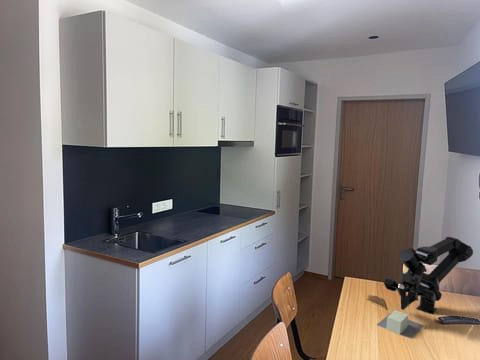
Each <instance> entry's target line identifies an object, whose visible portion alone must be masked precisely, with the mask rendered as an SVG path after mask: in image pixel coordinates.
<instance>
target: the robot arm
mask: <svg viewBox="0 0 480 360" xmlns="http://www.w3.org/2000/svg"><path fill="white" fill-rule="evenodd" d="M446 253H448V254H447V255H446V256H445V257H444V258H443V259H442V260H441V261H440V263H438V264H437V266H436V267H434V268H433V269H432V270H431V271H430V273H427V272H428V269H427V268H426V265H428V266H432V265H433V264H435V263H436V262H437V261H438V258H439V257H441V256H442V255H444V254H446ZM473 254H474V250H473V248H472V246H471V245H467V244H466V243H464V242H463V241H461V240H460V239H458V238H456V237H452V236H447V237H445V238H444V239H443V240H441V241H439V242H437V243H434V244H433V245H431V246H420V247H418V248H416V249H414V248H412V247H410V246H409V247H408V248H407V249H403V250H401V251H400V252H399V254H398V259H399V260H400V262H402V263H403V266H405V268H407V271H406V272H401V273H400V276H399V281H400V283H397V281H396V279H392V278H389V277H386V278H384V281H383V285H384V287H385V289H386V290H389V291H391V292H396V291H397V293H398V294H399V296H400V309H401V310H402V311H404V310H405V309H406V308H408V307H409V306H410V305H411V304H412V303H414V302H415V301H417V302H418V301H419V305H418V306H417V307H416V310H418V311H421V312H424V313H425V314H430V315H434V314H435V313H436V311H438V308H436V302H439V301H440V300H441V299H442V295H443V294H442V293H441V292H440V283H441V282H442V281H443V280H444V279H445V278H446V276H447V275H448V274H449V273H450V272H451V271H452V270H453V269H455V267H456V266H457V265H458V264H459V263H461V262H463V263H464V262H466V261H468V260H469V259H470V258H471V257H472V256H473ZM424 264H425V265H424ZM419 297H420V298H419Z"/></svg>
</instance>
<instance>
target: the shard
mask: <svg viewBox="0 0 480 360" xmlns="http://www.w3.org/2000/svg"><path fill="white" fill-rule="evenodd" d="M365 301H366V302H368V303H369V302H370V303H371V304H373V305H374V306H375V305H376V306H378V307H379V308H382V309H385V310H387V306H386V302H385V299H384V298H383V297H380V296H378V295H371V294H367V298H365Z"/></svg>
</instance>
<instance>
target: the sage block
mask: <svg viewBox="0 0 480 360" xmlns="http://www.w3.org/2000/svg"><path fill="white" fill-rule="evenodd" d="M390 313H391V314H390ZM390 313H389V314H390V315H389V314H388V315H389V316H388V317H387V325H386V330H387V331H389V332H392V333H394V334H396V335H400V334H401V333H402V332H403V331H404V330H405V329H406V328H407V325H408V320H409V314H406V312H402V311H399V310H396V309H395V310H393V312H390Z"/></svg>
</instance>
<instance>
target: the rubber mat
mask: <svg viewBox="0 0 480 360" xmlns="http://www.w3.org/2000/svg"><path fill="white" fill-rule="evenodd" d="M391 313H392V312H390V313H388V314H387V315H386V316H385V317H384V318H382V319H381V320H380V321H379V322H378V323H376V326H377V327H381V328H383V329H386V325H387V317H388V316H389V315H390V314H391ZM424 326H425V325H424V324H422V323H420V322H417V321H414V320H412V319H408V325H407V328H406V329H405V330H404V331H403V332H402V333H401V334H400V335H401V336H403V337H406V338H408V339H411V340H412V339H413V338H414V337H415V336H416V335H417V333H418V332H419V331H420V330H421V329H422V328H423V327H424ZM386 330H387V329H386Z"/></svg>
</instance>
